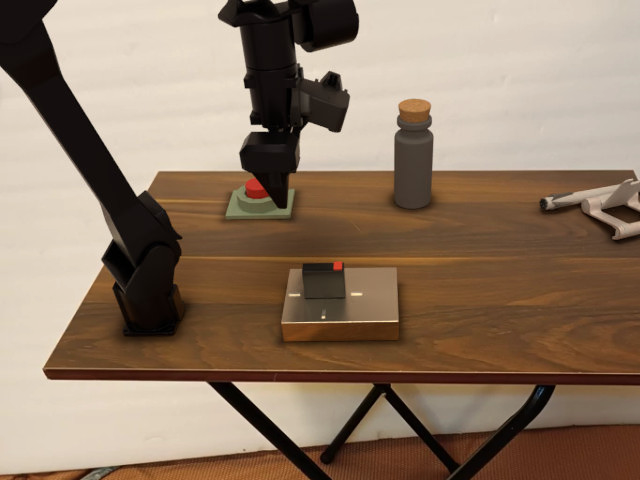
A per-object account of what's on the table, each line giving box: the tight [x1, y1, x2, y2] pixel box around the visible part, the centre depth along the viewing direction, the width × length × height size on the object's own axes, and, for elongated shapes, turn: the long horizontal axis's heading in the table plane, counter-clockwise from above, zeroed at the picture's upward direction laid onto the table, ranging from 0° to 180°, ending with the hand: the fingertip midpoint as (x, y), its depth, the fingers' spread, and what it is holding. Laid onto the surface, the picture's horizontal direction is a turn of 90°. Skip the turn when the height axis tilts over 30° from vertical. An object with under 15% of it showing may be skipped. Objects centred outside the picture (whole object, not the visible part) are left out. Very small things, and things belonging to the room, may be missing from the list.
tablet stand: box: [580, 178, 640, 240], centre depth 94 cm, size 9×8×8 cm
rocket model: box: [538, 180, 640, 211], centre depth 99 cm, size 2×2×30 cm
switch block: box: [224, 184, 296, 220], centre depth 99 cm, size 10×8×2 cm
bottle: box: [393, 98, 435, 210], centre depth 95 cm, size 6×6×15 cm
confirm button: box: [244, 177, 269, 199], centre depth 98 cm, size 4×4×2 cm
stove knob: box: [301, 260, 346, 298], centre depth 77 cm, size 5×2×4 cm, turn 90°
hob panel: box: [280, 266, 400, 342], centre depth 80 cm, size 14×11×3 cm
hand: (287, 189), depth 81 cm, fingers open, 9 cm apart
